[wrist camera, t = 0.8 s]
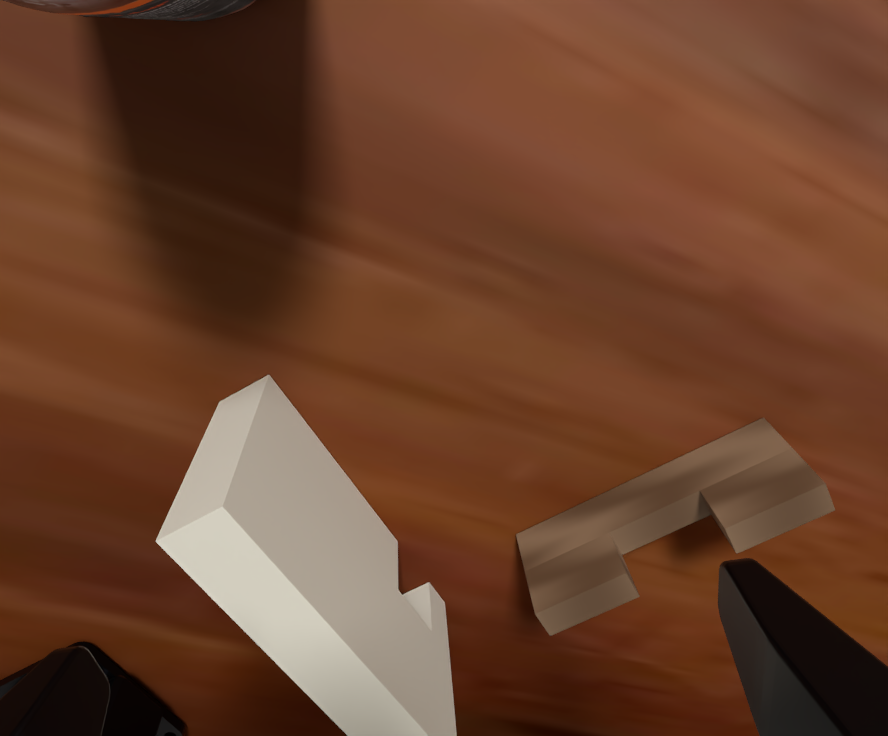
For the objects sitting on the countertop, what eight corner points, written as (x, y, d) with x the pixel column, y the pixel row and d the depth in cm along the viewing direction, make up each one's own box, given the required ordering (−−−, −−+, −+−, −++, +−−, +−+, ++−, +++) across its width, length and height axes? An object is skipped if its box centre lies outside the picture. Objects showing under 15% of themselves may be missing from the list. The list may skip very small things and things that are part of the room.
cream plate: (444, 602, 28) (459, 770, 22) (401, 622, 28) (404, 793, 22) (268, 374, 23) (222, 506, 17) (219, 401, 23) (155, 541, 17)
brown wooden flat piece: (529, 555, 27) (550, 636, 24) (515, 534, 27) (534, 613, 23) (773, 441, 25) (835, 510, 22) (763, 417, 25) (825, 483, 21)
